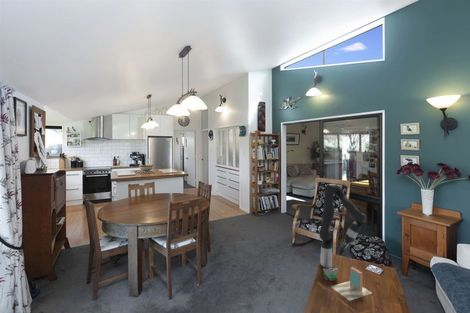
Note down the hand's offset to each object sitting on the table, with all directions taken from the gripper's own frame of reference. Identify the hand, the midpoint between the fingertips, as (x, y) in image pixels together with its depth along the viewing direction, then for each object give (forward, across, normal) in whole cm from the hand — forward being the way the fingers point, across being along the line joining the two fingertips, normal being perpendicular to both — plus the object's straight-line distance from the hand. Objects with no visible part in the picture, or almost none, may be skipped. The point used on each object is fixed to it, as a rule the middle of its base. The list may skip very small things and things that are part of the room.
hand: (341, 251), depth 196 cm
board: (+18, +12, +19) cm, 28 cm away
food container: (+23, +5, +5) cm, 24 cm away
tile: (+15, +8, +20) cm, 26 cm away
